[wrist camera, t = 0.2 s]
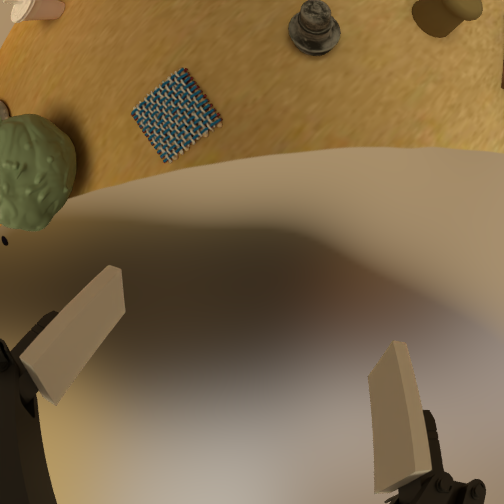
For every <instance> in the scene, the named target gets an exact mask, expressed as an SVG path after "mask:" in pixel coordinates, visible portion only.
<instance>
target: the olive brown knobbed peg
mask: <svg viewBox="0 0 504 504" xmlns="http://www.w3.org/2000/svg"><path fill="white" fill-rule="evenodd" d="M482 11H483V7H482V2H481V0H419V1H417V2H416V3H415V4H414V5H413V8H412V15H413V18H414V20H415V22H416V23H417V25H418V26H419V27H420V28H421V29H422V30H423V31H424V32H426V33H427V34H428V35H431V36H433V37H438V38H442V37H446V36H447V35H448V34H449V33H450V32H451V31H452V30H453V29H455V28H456V27H457V26H458V25H459V24H460V23H461V22H463V21H464V20H466V21H471V20H476V19H477V18H479V17H480V16H481V14H482Z"/></svg>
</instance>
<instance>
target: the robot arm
mask: <svg viewBox="0 0 504 504" xmlns="http://www.w3.org/2000/svg"><path fill="white" fill-rule="evenodd" d="M124 313H125V304H124V296H123V285H122V272H121V269H119V268H116V267H113V266H110V265H108V266H107V267H106V268H105V269H104V270H103V271H102V272H101V273H99V274H98V275H97V276H96V277H95V278H94V279H93V280H92V281H91V282H90V283H89V284H88V285H87V286H86V287H85V288H84V289H83V290H82V291H81V292H80V293H79V294H78V295H77V296H76V297H75V298H74V299H73V300H72V301H71V302H70V303H69V304H68V305H67V306H66V307H65V308H64V309H63V310H62V311H61V312H60V313H58V312H55V311H52V312H50V313H48V314H46V315H44V316H43V318H41V319H40V320H39V322H37V325H35V326H34V327H33V328H32V329H31V331H29V332H28V333H27V334H26V335H25V336H24V337H23V338H22V339H21V340H20V342H19V343H18V344H17V345H16V346H15V347H14V348H13V349H12V350H11V351H9V349H8V347H7V345H6V343H5V342H4V340H2V339H0V504H57V502H56V499H55V495H54V492H53V488H52V485H51V480H50V476H49V472H48V468H47V464H46V459H45V454H44V448H43V442H42V436H41V430H40V422H39V413H38V403H37V397H36V393H37V392H38V390H39V391H40V393H41V394H42V396H43V397H44V398H45V399H46V400H48V401H49V402H51V403H52V404H54V405H56V406H57V404H58V403H59V401H60V400H61V398H62V397H63V395H64V394H65V392H66V391H67V390H68V388H69V387H70V385H71V384H72V382H73V381H74V380H75V378H76V377H77V375H78V374H79V373H80V371H81V370H82V368H83V367H84V366H85V364H86V363H87V362H88V360H89V359H90V358H91V356H92V355H93V353H94V352H95V351H96V349H97V348H98V347H99V346H100V344H101V343H102V341H103V340H104V339H105V338H106V336H107V335H108V334H109V332H110V331H111V330H112V328H113V327H114V326H115V325H116V323H117V322H118V321H119V319H120V318H121V317H122V316H123V314H124ZM368 383H369V392H370V402H371V414H372V428H373V446H374V476H375V477H374V480H375V481H374V482H375V483H374V485H375V487H374V490H375V491H374V494H380V493H391V492H393V491H395V490H397V489H398V491H399V494H397V495H395V496H393V497H391V498H389V499H387V500H386V501H385V503H388V502H390V501H391V502H390V504H484V500H485V495H486V489H485V485H484V483H483V482H482V481H481V480H479V479H474V480H472V481H471V482H469V483H467V484H466V483H461V482H456V481H453V478H452V477H451V475H450V474H449V473H447V472H444V469H443V464H442V457H441V451H440V445H439V440H438V434H437V432H436V430H437V428H436V423H435V419H434V417H433V416H432V414H431V412H430V410H422V405H421V400H420V396H419V391H418V387H417V383H416V379H415V375H414V371H413V367H412V363H411V359H410V356H409V352H408V349H407V345H406V343H404V342H399V341H392V342H391V344H390V346H389V347H388V348H387V350H386V352H385V353H384V354H383V356H382V357H381V359H380V360H379V362H378V363H377V364H376V366H375V367H374V369H373V370H372V372H371V373H370V374H369V376H368Z"/></svg>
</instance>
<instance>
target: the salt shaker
mask: <svg viewBox="0 0 504 504" xmlns="http://www.w3.org/2000/svg"><path fill="white" fill-rule="evenodd" d="M288 29H289V35H290V37H291V39H292V41H293V42H294V43H295V45H296V47H297V48H298V49H299V50H300V51H302V52H303V53H306V54H308V55H312V56H320V55H324V54H326V53H328V52H329V51H330V50H331V49H332V48H333V47H334V46H335V45H336V44H337V43H338V41H339V39H340V34H341V32H340V27H339V25H338V23H337V21H336V20H335V19H334V18H333V17H332V16H331V10H330V8H329V6H328V5H327V4H326V3H324V2H323V1H320V0H308V1H306V2H305V3H303V5H302V6H301V10H300V12H299V13H297V14H296V15H295V16H294V17H293V18H292V19H291V21H290V23H289V28H288Z"/></svg>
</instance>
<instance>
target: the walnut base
mask: <svg viewBox="0 0 504 504" xmlns="http://www.w3.org/2000/svg"><path fill="white" fill-rule="evenodd" d="M501 88H502V89H504V62H503V75H502V85H501Z"/></svg>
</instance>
